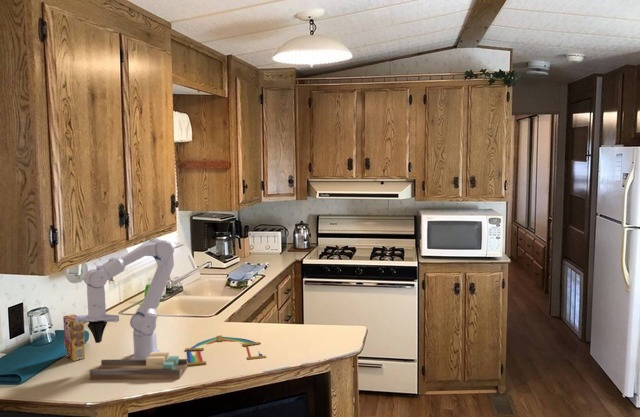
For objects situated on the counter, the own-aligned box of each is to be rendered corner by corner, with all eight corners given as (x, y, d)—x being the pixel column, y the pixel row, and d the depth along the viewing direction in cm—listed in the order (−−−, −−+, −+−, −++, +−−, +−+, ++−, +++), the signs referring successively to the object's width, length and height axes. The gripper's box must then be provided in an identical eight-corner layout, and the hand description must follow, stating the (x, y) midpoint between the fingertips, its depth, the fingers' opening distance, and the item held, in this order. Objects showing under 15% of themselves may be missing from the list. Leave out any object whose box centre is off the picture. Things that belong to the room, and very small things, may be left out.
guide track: (102, 367, 189) (102, 355, 189) (187, 367, 189) (187, 354, 188) (90, 379, 179) (89, 366, 179) (179, 378, 179) (179, 365, 178)
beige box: (152, 364, 187) (151, 352, 186) (169, 364, 187) (168, 351, 186) (146, 371, 181) (145, 358, 180) (164, 371, 181) (163, 358, 180)
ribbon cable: (184, 341, 218) (186, 367, 189) (183, 338, 218) (185, 364, 189) (255, 334, 226) (267, 358, 197) (255, 332, 226) (267, 356, 197)
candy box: (86, 358, 199) (84, 317, 198) (74, 361, 196) (72, 320, 195) (76, 352, 205) (74, 313, 204) (64, 355, 202) (62, 316, 201)
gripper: (70, 307, 183) (72, 345, 185) (112, 306, 183) (114, 345, 184) (80, 301, 190) (82, 339, 192) (120, 301, 190) (122, 338, 191)
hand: (98, 341), depth 188 cm, fingers closed
